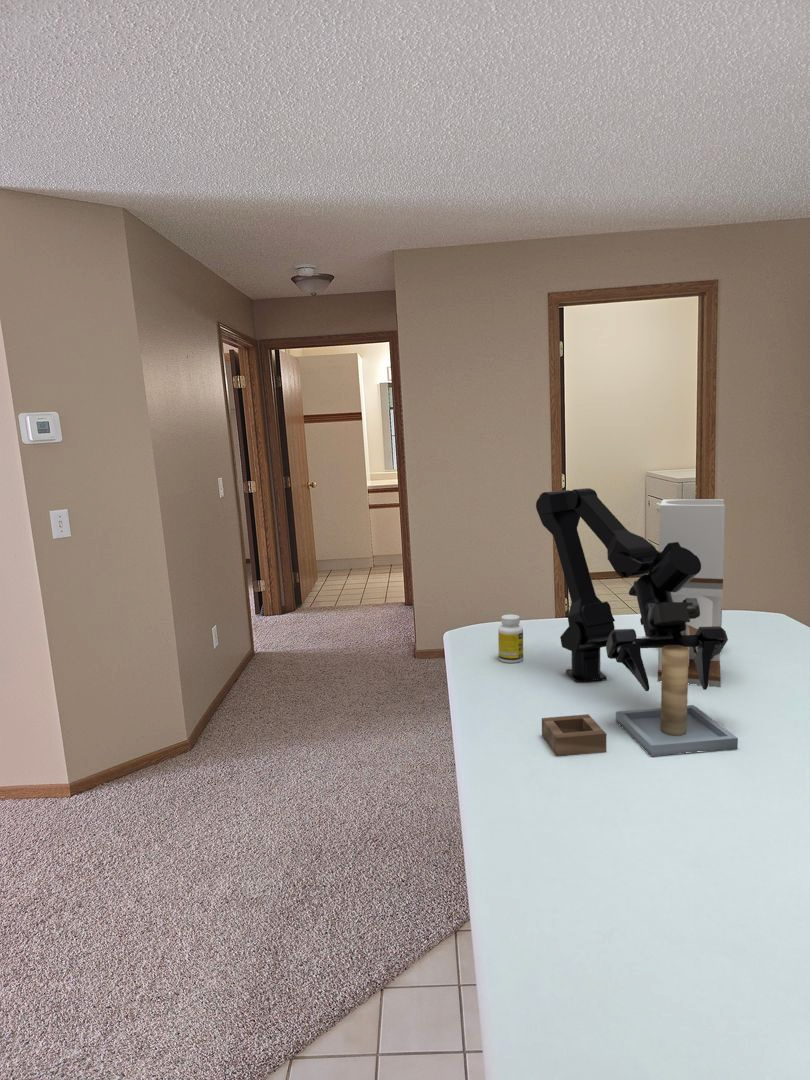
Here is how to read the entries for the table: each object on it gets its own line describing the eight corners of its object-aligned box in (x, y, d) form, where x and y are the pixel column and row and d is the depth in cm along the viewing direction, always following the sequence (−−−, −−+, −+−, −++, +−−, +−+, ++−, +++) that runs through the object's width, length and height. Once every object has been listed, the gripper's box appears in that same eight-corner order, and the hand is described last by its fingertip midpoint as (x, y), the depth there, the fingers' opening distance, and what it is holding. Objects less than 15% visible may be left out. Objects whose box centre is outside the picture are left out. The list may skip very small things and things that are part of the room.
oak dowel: (656, 726, 122) (657, 645, 120) (679, 725, 123) (681, 644, 121) (667, 736, 118) (669, 653, 116) (691, 734, 119) (693, 651, 117)
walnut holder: (541, 735, 122) (541, 718, 122) (588, 731, 123) (588, 714, 123) (556, 756, 115) (556, 737, 114) (606, 751, 115) (606, 733, 115)
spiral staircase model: (657, 681, 145) (659, 505, 140) (660, 664, 155) (662, 499, 150) (720, 687, 141) (724, 505, 136) (719, 669, 151) (723, 499, 145)
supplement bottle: (522, 663, 159) (522, 620, 158) (497, 663, 160) (496, 619, 159) (524, 656, 164) (523, 613, 163) (499, 655, 165) (498, 613, 164)
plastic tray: (615, 721, 127) (615, 711, 127) (693, 714, 128) (693, 705, 128) (651, 756, 113) (651, 745, 113) (737, 748, 114) (737, 738, 114)
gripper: (610, 582, 121) (627, 668, 112) (724, 578, 121) (752, 665, 111) (599, 616, 130) (614, 699, 121) (705, 613, 130) (729, 696, 120)
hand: (676, 689), depth 118 cm, fingers open, 9 cm apart
